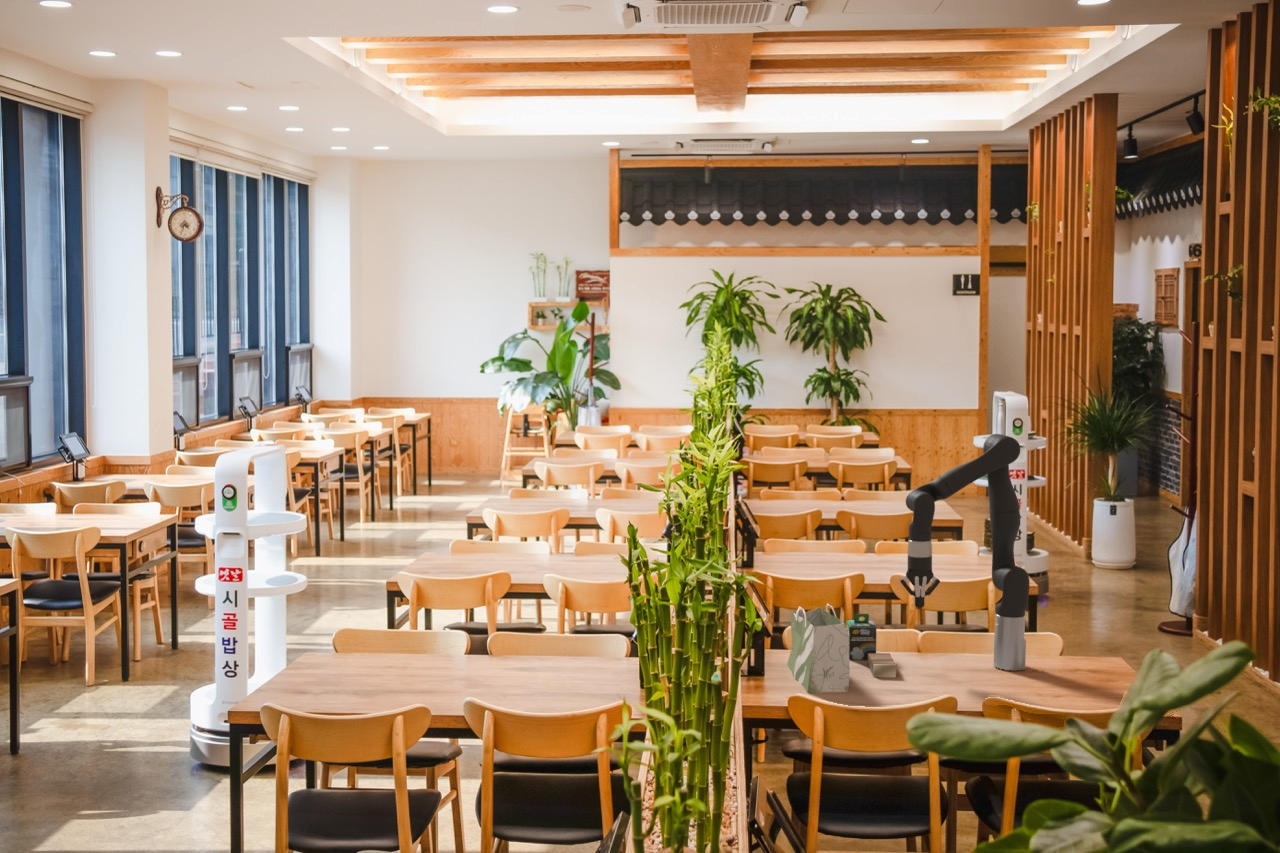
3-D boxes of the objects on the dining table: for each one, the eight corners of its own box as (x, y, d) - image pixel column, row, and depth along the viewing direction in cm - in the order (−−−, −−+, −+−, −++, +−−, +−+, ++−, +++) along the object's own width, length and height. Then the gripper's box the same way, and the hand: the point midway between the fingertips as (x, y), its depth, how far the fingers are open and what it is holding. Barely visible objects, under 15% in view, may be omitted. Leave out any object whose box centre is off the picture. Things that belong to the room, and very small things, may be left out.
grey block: (896, 665, 406) (889, 653, 420) (873, 664, 406) (867, 653, 420) (895, 677, 406) (889, 665, 420) (873, 677, 407) (867, 665, 421)
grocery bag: (782, 664, 420) (784, 594, 418) (825, 663, 422) (826, 593, 420) (805, 693, 389) (806, 617, 387) (850, 692, 390) (852, 616, 388)
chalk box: (872, 653, 435) (873, 609, 434) (876, 660, 426) (877, 616, 425) (844, 653, 435) (845, 609, 434) (848, 660, 426) (849, 615, 425)
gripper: (900, 556, 406) (900, 611, 408) (943, 556, 406) (942, 610, 407) (896, 552, 414) (896, 605, 415) (938, 551, 413) (938, 605, 415)
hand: (919, 608), depth 411 cm, fingers closed
